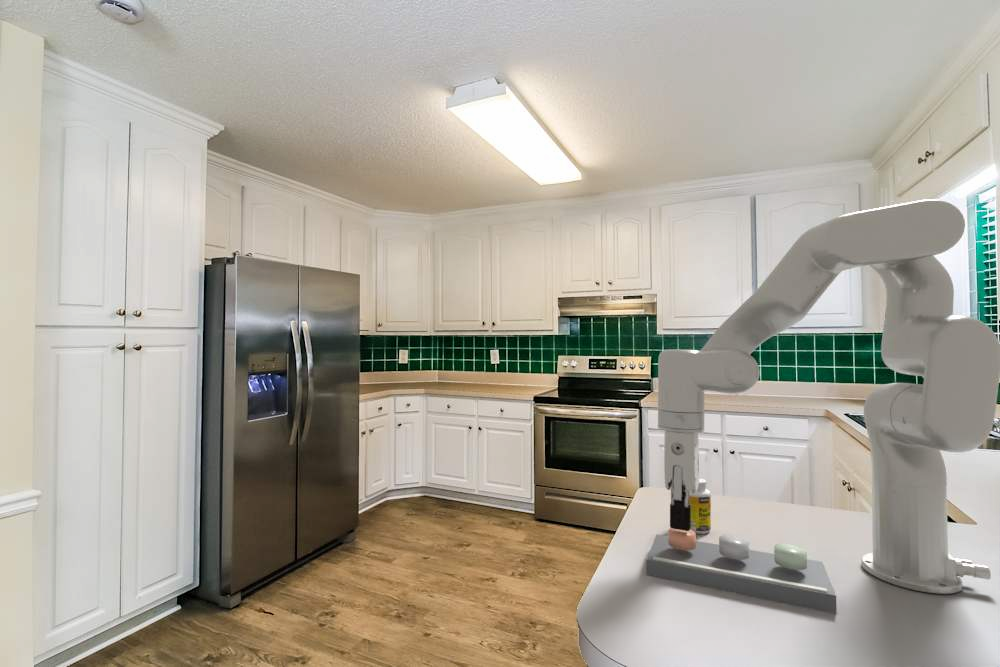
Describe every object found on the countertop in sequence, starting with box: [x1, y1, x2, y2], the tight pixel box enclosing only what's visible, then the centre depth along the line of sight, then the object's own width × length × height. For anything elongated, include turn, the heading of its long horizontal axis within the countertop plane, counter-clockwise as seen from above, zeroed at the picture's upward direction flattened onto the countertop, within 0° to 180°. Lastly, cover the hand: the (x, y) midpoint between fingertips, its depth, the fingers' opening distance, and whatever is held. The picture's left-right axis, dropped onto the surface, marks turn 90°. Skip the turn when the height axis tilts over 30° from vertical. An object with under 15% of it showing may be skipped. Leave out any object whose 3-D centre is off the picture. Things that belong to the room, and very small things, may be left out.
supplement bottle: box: [689, 477, 712, 535], centre depth 99 cm, size 6×6×10 cm
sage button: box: [773, 543, 808, 570], centre depth 76 cm, size 4×4×2 cm
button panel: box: [645, 534, 837, 614], centre depth 79 cm, size 26×12×3 cm, turn 64°
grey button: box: [718, 534, 750, 560], centre depth 79 cm, size 4×4×2 cm
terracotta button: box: [667, 527, 697, 550], centre depth 83 cm, size 4×4×2 cm
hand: (680, 527), depth 83 cm, fingers closed
